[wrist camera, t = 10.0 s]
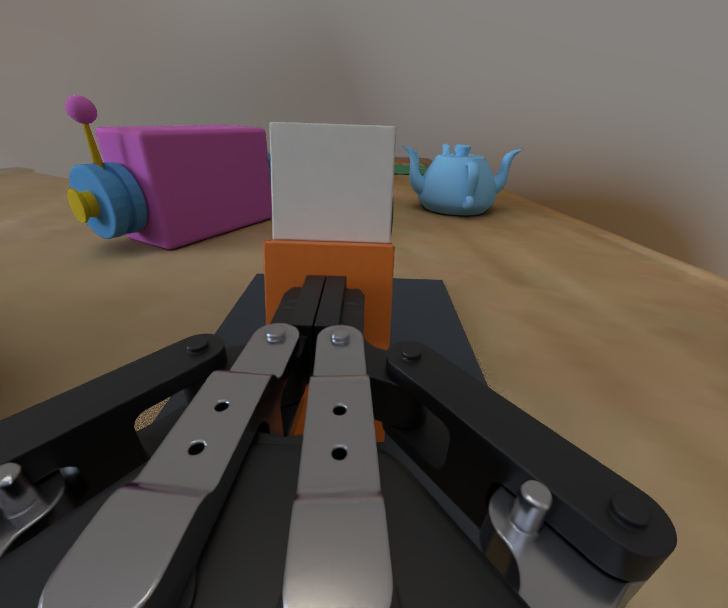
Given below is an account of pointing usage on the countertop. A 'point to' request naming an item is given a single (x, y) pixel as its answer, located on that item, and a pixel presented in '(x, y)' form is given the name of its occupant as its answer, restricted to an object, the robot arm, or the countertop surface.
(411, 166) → the teapot
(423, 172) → the terrain model
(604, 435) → the countertop surface
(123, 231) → the toy
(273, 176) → the truck
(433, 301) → the mat
